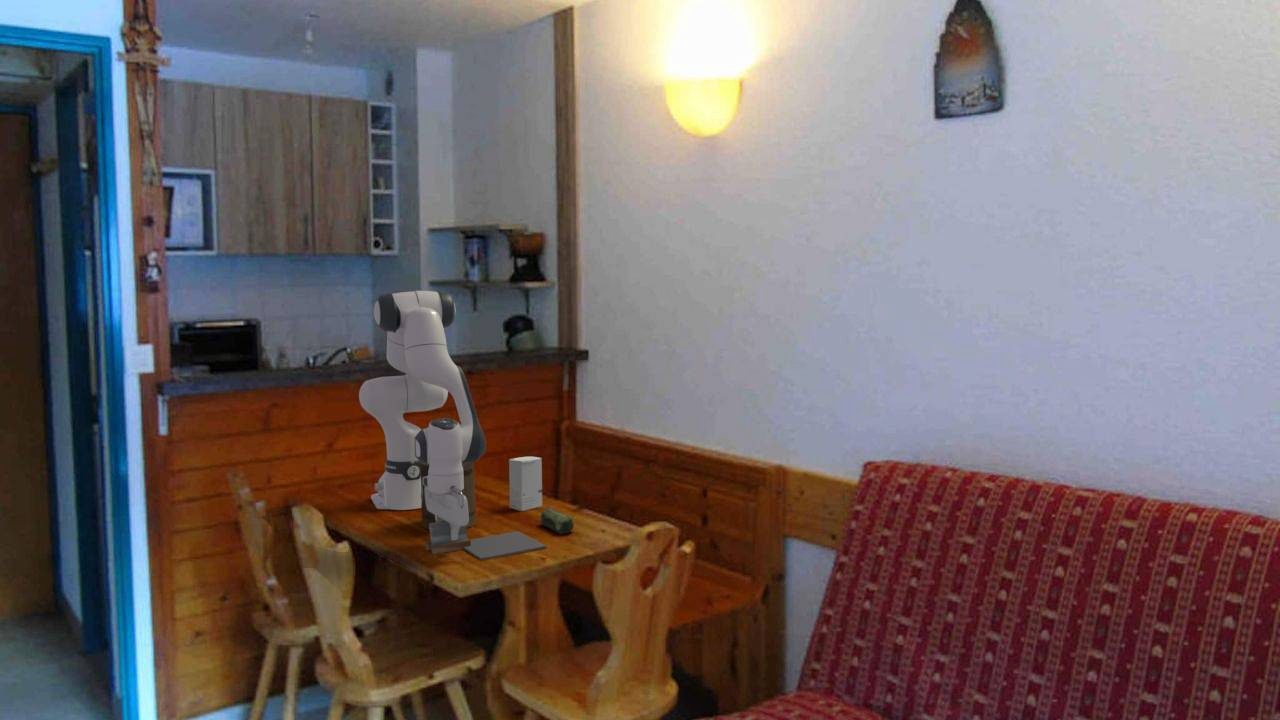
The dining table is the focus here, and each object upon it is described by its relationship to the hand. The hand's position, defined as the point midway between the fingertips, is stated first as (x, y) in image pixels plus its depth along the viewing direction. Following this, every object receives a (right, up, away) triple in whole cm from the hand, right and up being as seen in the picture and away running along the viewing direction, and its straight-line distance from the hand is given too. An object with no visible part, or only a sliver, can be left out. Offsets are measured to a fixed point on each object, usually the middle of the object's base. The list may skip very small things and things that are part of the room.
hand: (447, 535), depth 256 cm
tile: (0, -3, +1) cm, 3 cm away
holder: (0, -3, 0) cm, 3 cm away
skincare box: (+15, +1, +40) cm, 43 cm away
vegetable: (+26, -2, +18) cm, 32 cm away
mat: (+13, -3, +2) cm, 14 cm away
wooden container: (-4, -1, +23) cm, 23 cm away
